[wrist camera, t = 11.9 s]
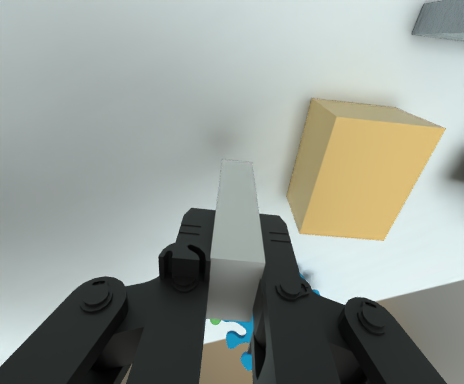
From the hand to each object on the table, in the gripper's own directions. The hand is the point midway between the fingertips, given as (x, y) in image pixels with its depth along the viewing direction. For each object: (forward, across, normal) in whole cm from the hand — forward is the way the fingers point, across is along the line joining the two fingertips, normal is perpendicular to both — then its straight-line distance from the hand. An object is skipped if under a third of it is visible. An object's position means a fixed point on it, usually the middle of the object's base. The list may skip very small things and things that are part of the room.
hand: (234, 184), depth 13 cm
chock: (+7, +8, 0) cm, 11 cm away
